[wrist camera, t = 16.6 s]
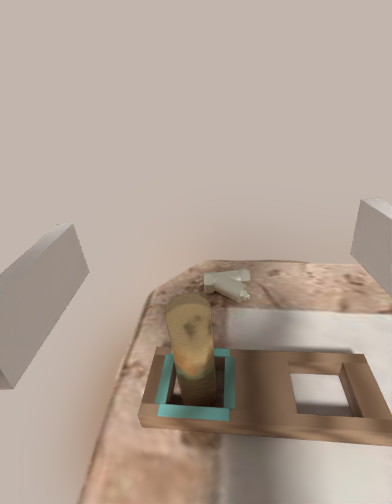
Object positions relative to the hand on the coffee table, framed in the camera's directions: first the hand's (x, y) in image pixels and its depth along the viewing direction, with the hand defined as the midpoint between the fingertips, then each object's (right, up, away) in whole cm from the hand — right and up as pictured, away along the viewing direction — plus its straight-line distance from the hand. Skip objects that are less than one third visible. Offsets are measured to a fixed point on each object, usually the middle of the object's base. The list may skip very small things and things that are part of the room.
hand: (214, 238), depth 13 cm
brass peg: (0, -18, +21) cm, 28 cm away
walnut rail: (+6, -18, +20) cm, 28 cm away
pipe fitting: (+5, -8, +36) cm, 38 cm away
